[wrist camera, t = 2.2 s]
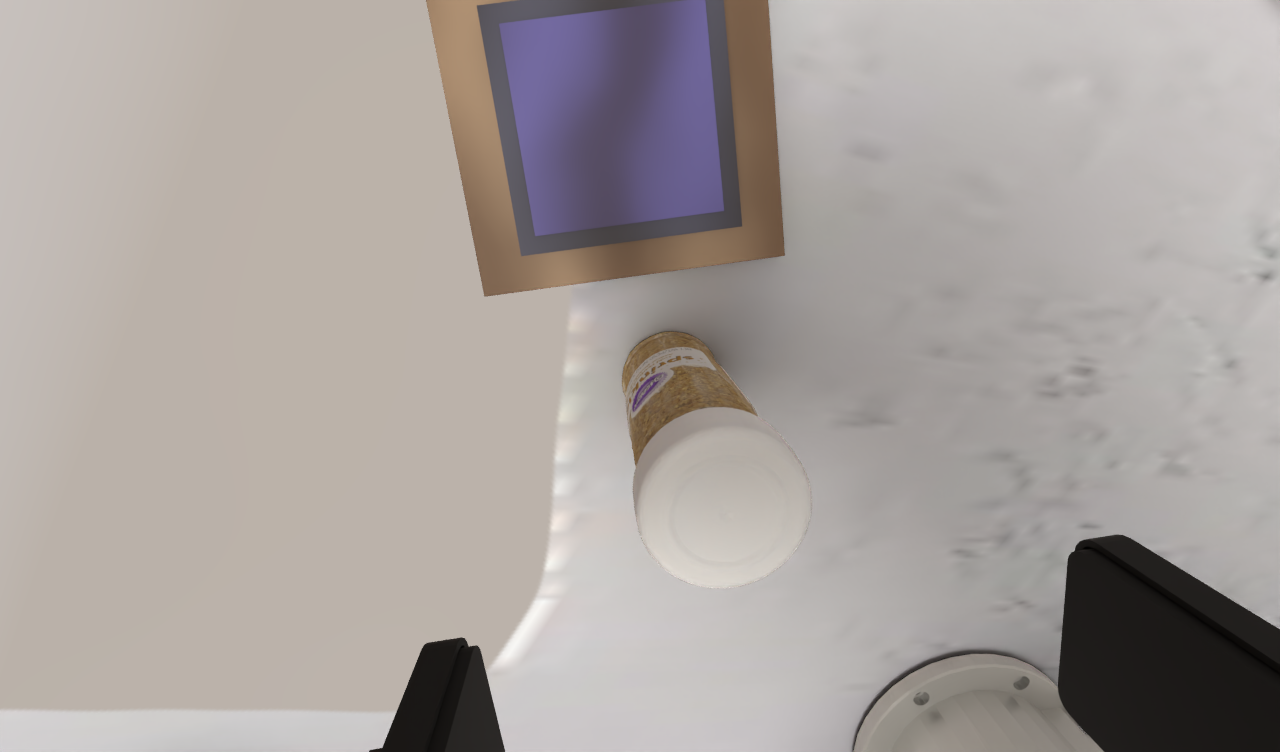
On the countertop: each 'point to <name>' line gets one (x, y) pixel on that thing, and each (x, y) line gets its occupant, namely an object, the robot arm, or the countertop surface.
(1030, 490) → the countertop surface
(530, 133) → the stamp board
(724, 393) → the sprinkles bottle
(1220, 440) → the countertop surface
